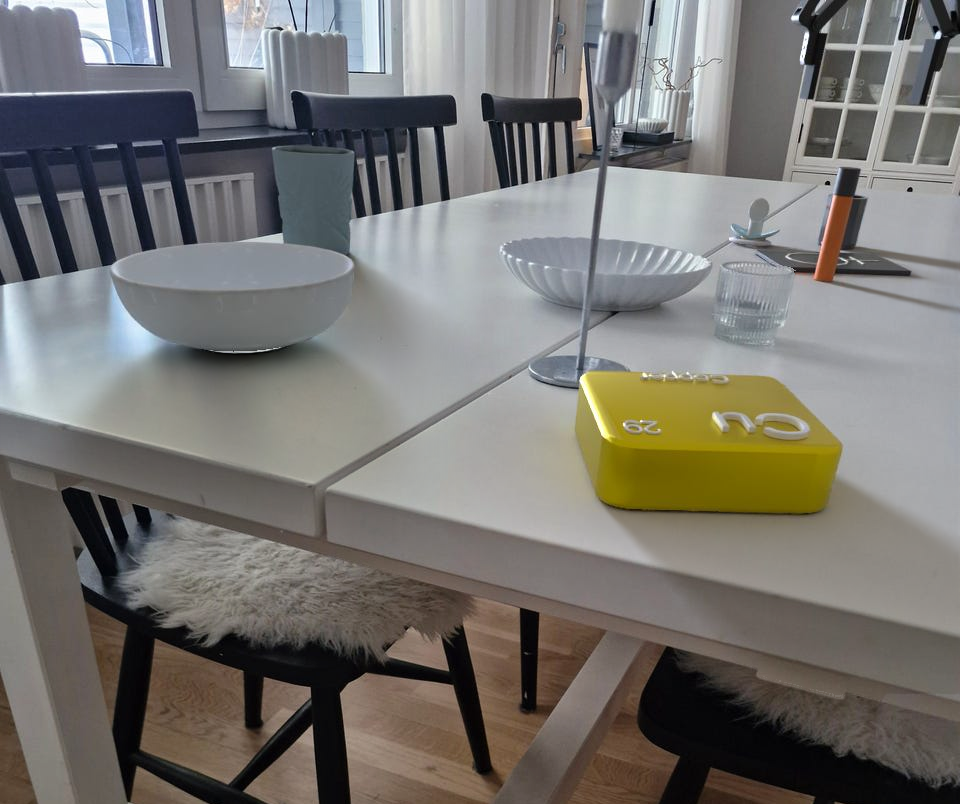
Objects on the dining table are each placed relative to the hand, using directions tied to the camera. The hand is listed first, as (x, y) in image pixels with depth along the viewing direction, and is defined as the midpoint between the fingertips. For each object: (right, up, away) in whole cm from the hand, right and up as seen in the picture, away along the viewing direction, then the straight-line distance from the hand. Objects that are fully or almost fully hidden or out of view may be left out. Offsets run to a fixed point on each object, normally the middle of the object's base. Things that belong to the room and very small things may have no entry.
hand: (861, 102), depth 107 cm
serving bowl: (-68, -37, -24) cm, 81 cm away
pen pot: (+10, -3, +32) cm, 34 cm away
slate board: (+4, -11, +19) cm, 22 cm away
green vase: (-67, -13, +12) cm, 69 cm away
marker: (-1, -17, +10) cm, 20 cm away
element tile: (-31, -53, -45) cm, 76 cm away
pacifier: (-4, -4, +30) cm, 31 cm away
